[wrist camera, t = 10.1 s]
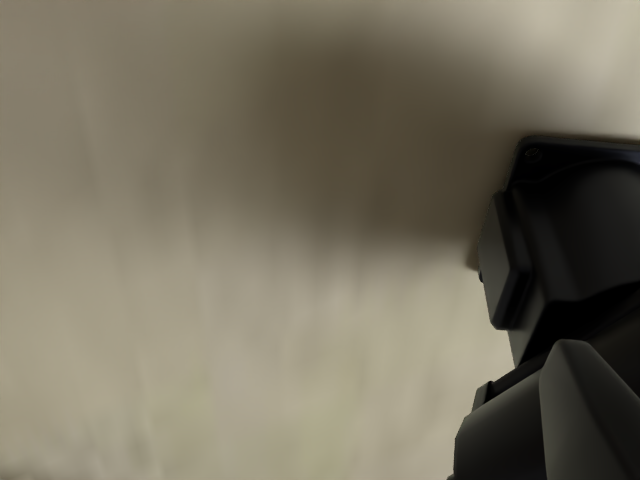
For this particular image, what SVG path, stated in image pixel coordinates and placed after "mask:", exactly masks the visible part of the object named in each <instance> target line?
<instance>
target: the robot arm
mask: <svg viewBox="0 0 640 480" xmlns="http://www.w3.org/2000/svg"><path fill="white" fill-rule="evenodd" d="M534 148H536V149H538V151H537V152H536V153H535V154H533V155H526V152H527V151H528V150H530V149H534ZM477 251H478V256H479V262H480V263H479V267H478V275H479V279H480V281H481V282H482V283H483V284H484V290H485V295H486V301H487V306H488V312H489V318H490V322H491V324H492V325H493V326H494V328H495V329H497V330H506V331H508V336H509V341H510V346H511V351H512V356H513V361H514V365H515V369H514V370H512V371H510V372H509V373H507V374H506V375H504V376H503V377H501V378H500V379H498V380H497V381H495V382H493V381H489V382H487V383H486V384H484V385H483V386H481V387H480V388H478V389H477V391H476V395H475V399H474V403H473V408H472V412H471V413H470V414H469V415H467V416H466V417H465V418H464V420H463V422H462V424H461V427H460V429H459V431H458V433H457V435H456V438H455V450H454V467H453V470H454V474H452V475H451V476H449V477H448V478H447V480H640V145H631V144H620V143H609V142H599V141H588V140H577V139H566V138H555V137H544V136H528V137H525V138H523V139H522V140H521V141H519V142H518V144H517V146H516V148H515V151H514V154H513V157H512V160H511V164H510V167H509V170H508V173H507V177H506V180H505V183H504V186H503V189H502V190H499V191H497V192H496V193H495V194H494V195H492V198H491V201H490V204H489V208H488V211H487V214H486V218H485V221H484V224H483V228H482V231H481V234H480V238H479V241H478V244H477Z"/></svg>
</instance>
